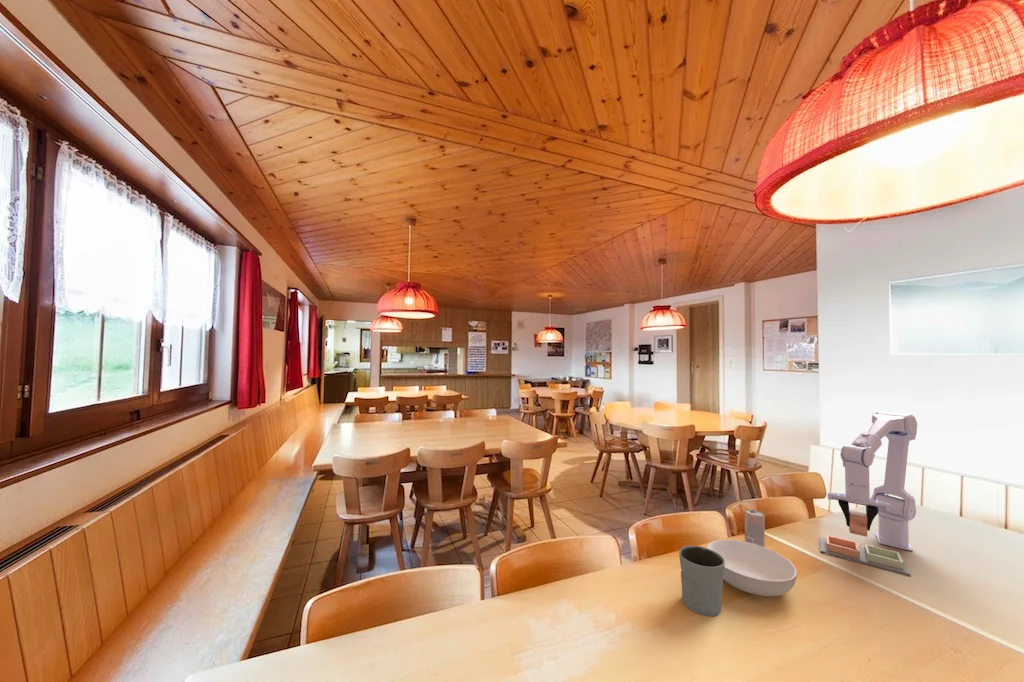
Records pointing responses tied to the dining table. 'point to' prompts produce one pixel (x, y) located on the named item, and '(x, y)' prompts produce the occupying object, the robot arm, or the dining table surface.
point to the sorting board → (864, 554)
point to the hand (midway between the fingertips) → (857, 527)
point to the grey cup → (702, 579)
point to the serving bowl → (755, 568)
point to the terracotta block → (858, 523)
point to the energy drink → (755, 527)
